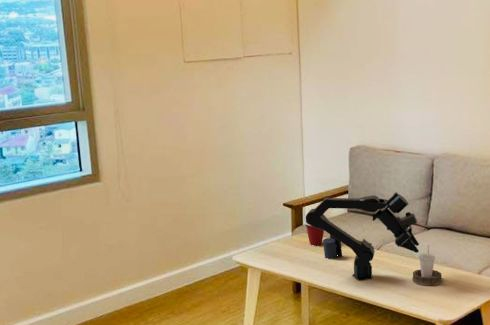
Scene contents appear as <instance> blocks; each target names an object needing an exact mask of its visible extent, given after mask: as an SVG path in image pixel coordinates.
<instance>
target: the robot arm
mask: <svg viewBox="0 0 490 325" xmlns="http://www.w3.org/2000/svg"><path fill="white" fill-rule="evenodd" d="M408 205H409V202H408V201H407V199H406V198H405V197H404V196H402V195H401V194H400V193H398V192H394V193H393V195H392V196H391V197H390V198H389V199H386V198H379V197H378V196H377V195H369V196H367V195H366V196H363V197H357V198H356V197H354V198H350V197H349V198H348V197H347V198H345V197H338V198H337V197H325V198H323V201H322V202H320V203H319V204H318V205H317V206H316V207H315V208H311V209H310V210H308V212H307V214H306V215H305V220H306V222H307V223H308V224H309V225H311V226H313V227H315V228H319V229H322V230H324V232H326V233H327V234H329V236H330V235H332V236H333V237H335V238H336V239H338V240H339V241H341V244H344V245H345V246H347V247H348V248H350V250H352V251H353V253H354V254H355V257H354V260H353V273H352V277H354V278H355V279H356V280H358V281H364V280H372V279H373V278H374V277H373V266H372V263H371V261H373V259H374V256H375V253H376V252H375V247H374V246H373V243H370V242H368V241H367V240H366V239H365V238H363V239H362V240H359V239H357V238H355V237H353V236H352V235H351V234H349V233H348V232H346V231H345V230H344V229H342V228H340V227H338V226H337V225H336V224H334V223H333V222H331V221H330V220H329V219H328V218H327V216H326V215H325V213H326V212H327V211H328V210H329V209H343V210H344V209H345V210H346V209H350V210H352V209H353V210H354V209H355V210H360V211H363V212H368V213H372V215H371V216H372V221H373V222H374V221H376V220H377V219H378V220H379V222H381V223H382V225H384V227H386V230H387V231H390V232H391V233H392V234H393V237H394V238H395V239H394V243H395V245H396V246H397V247H399V248H403V249H406V250H409V251H412V252H414V253H419V252H420V250H419V249H418V246H419V245H420V243H419V241H418V239H417V238H416V237H415V235H414V233H413V232H412V231H413V229H412V228H413V225H415V224H417V223H418V219H417V217H416V215H415V213H413V212H412V213H411V212H410V211H408V212H405V216H403V217H402V218H400V217H399V216H396V215H395V214H400V213H401V212H402V211H403V210H404V209H405V208H406V207H407V206H408Z"/></svg>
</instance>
